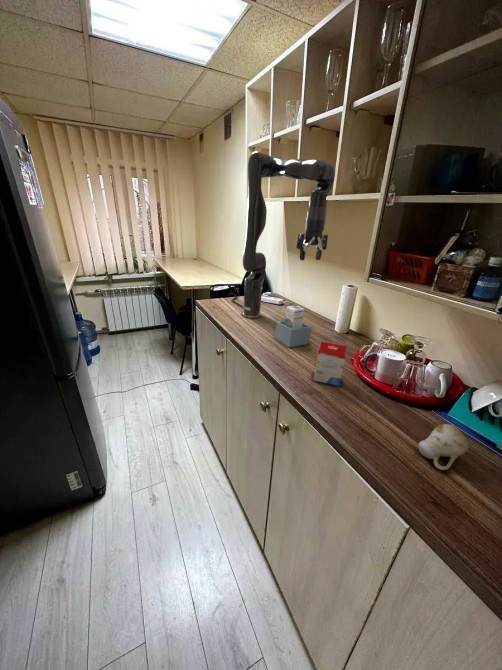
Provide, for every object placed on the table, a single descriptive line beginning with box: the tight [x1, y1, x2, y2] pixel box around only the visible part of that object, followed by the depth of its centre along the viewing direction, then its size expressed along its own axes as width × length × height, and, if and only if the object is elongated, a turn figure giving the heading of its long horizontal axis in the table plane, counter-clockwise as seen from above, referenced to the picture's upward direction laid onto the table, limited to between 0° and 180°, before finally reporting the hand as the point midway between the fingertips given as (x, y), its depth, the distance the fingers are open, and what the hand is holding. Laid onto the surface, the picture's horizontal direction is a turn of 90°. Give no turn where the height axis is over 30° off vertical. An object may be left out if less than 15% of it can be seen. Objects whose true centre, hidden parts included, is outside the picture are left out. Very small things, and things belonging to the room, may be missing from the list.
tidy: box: [274, 319, 312, 348], centre depth 119 cm, size 11×11×8 cm
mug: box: [418, 423, 469, 471], centre depth 64 cm, size 8×10×10 cm
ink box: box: [313, 340, 348, 387], centre depth 90 cm, size 8×5×15 cm, turn 71°
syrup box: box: [284, 305, 305, 329], centre depth 118 cm, size 6×6×14 cm
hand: (309, 260), depth 116 cm, fingers open, 8 cm apart
